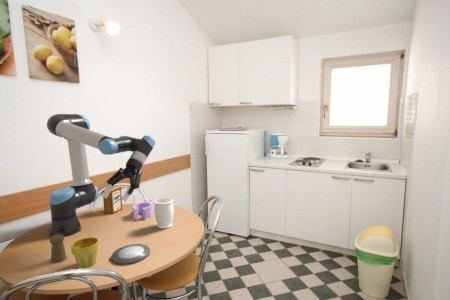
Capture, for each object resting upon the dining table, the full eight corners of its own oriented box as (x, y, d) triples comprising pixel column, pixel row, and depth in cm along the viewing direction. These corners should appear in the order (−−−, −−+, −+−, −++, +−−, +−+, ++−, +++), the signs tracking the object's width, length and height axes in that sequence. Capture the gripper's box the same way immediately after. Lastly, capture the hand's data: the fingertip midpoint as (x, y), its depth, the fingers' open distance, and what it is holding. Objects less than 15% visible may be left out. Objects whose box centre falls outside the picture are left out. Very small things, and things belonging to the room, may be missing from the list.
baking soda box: (112, 214, 170) (110, 190, 168) (104, 213, 172) (102, 189, 170) (122, 209, 179) (120, 186, 177) (114, 208, 180) (112, 186, 179)
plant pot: (89, 272, 104) (87, 249, 103) (66, 270, 106) (64, 247, 105) (105, 259, 114) (104, 237, 113) (85, 256, 116) (83, 236, 115)
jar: (166, 221, 157) (165, 196, 155) (178, 225, 150) (177, 199, 148) (151, 226, 148) (150, 201, 147) (163, 231, 142) (161, 204, 140)
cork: (69, 255, 118) (67, 232, 116) (61, 262, 112) (59, 238, 110) (56, 256, 117) (53, 232, 116) (47, 263, 111) (45, 238, 110)
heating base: (104, 259, 114) (103, 256, 114) (132, 243, 128) (132, 240, 128) (130, 268, 107) (129, 265, 106) (157, 250, 121) (157, 247, 121)
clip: (140, 209, 179) (139, 199, 178) (158, 209, 179) (157, 199, 178) (129, 220, 159) (128, 209, 158) (149, 220, 159) (148, 209, 158)
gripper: (158, 167, 129) (137, 205, 118) (123, 165, 141) (101, 199, 130) (150, 158, 124) (127, 197, 113) (114, 156, 136) (90, 191, 124)
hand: (113, 198), depth 121 cm, fingers open, 13 cm apart
